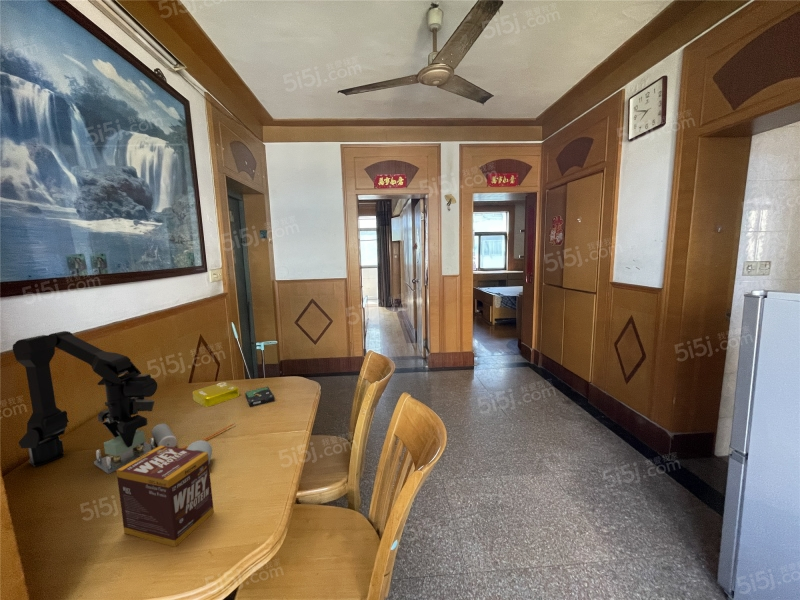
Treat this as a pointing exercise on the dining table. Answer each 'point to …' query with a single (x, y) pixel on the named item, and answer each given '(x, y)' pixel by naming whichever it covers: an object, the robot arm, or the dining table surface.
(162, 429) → the motor
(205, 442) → the ceramic mug
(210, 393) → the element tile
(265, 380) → the dining table surface
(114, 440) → the green rectangular block
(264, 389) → the disk drive
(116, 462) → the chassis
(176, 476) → the supplement box
